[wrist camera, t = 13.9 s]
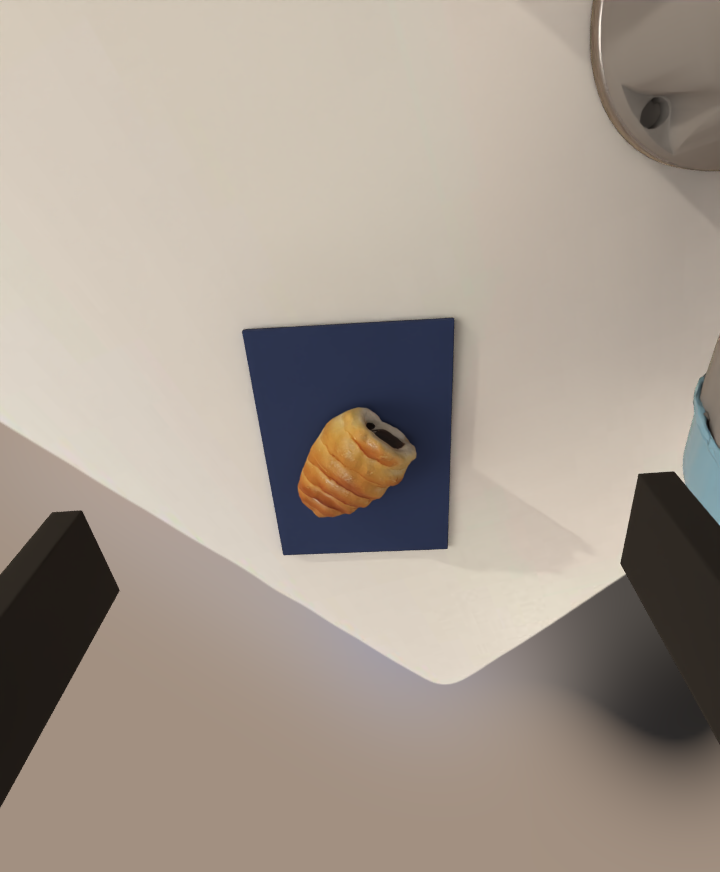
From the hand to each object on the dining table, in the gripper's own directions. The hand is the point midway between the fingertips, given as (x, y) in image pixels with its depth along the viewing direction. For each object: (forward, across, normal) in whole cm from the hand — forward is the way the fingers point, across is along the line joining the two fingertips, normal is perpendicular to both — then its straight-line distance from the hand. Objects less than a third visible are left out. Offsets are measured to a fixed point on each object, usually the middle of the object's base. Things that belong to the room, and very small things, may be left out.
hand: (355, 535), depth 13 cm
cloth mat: (+24, +2, +13) cm, 27 cm away
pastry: (+24, +2, +13) cm, 27 cm away
